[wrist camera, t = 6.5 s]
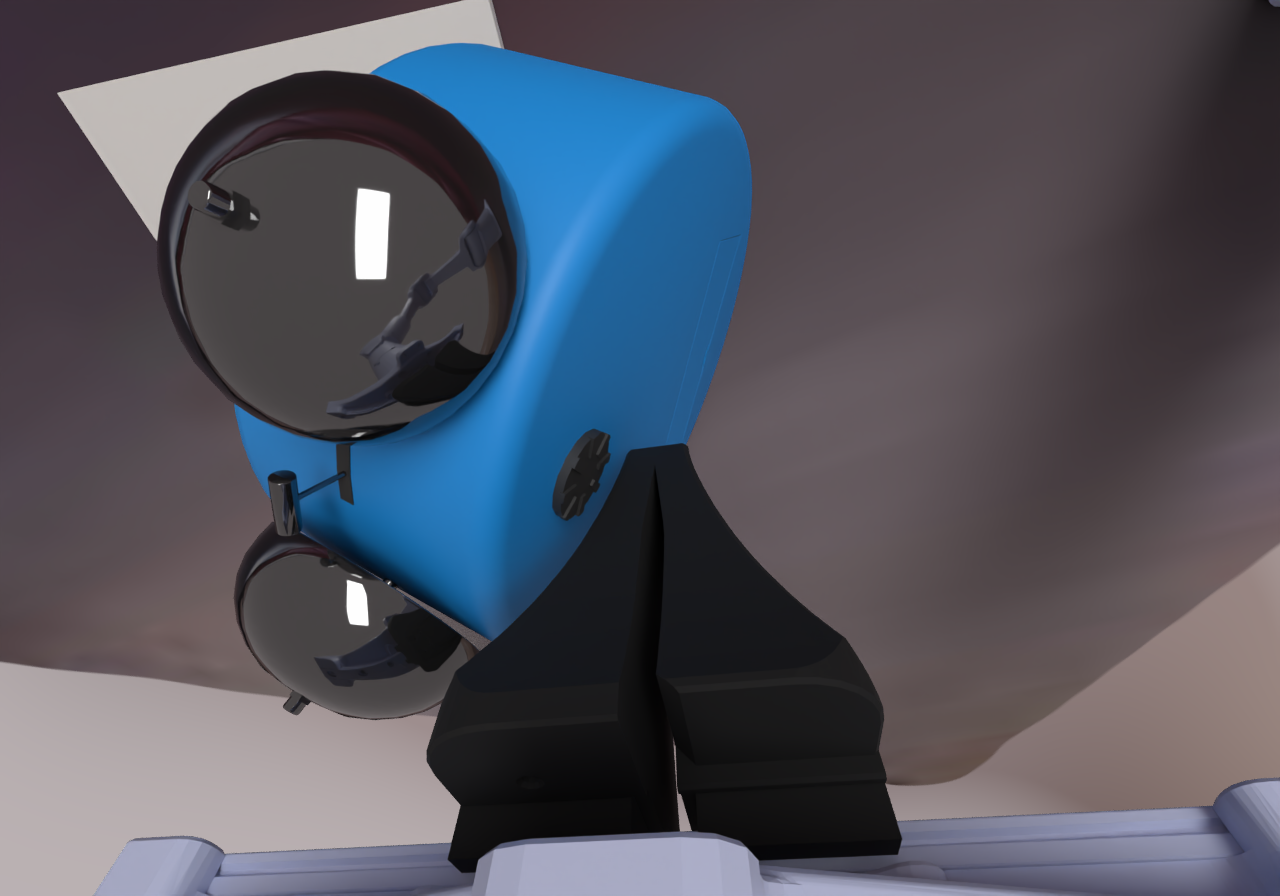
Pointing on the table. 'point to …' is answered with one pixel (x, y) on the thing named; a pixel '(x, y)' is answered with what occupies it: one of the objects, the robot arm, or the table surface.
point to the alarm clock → (444, 337)
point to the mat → (242, 90)
